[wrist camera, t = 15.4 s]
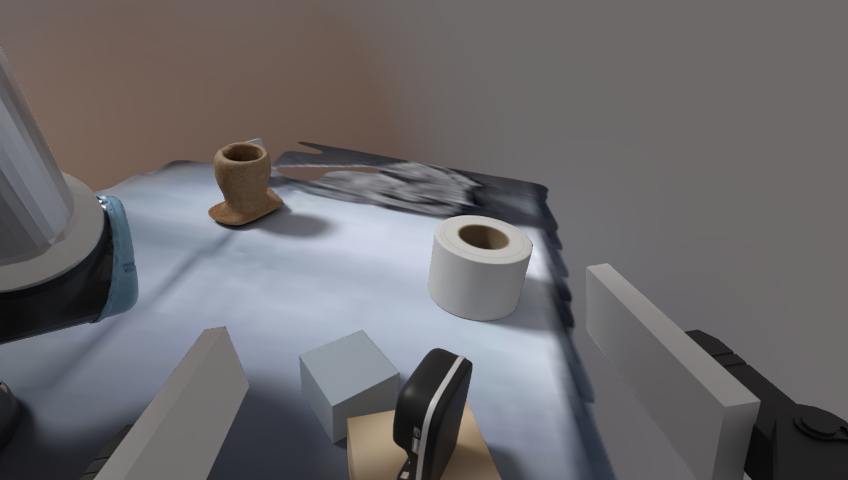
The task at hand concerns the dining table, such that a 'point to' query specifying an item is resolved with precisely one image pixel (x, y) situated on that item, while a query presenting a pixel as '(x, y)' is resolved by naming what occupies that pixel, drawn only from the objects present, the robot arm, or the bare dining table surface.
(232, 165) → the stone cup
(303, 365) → the slate-blue block
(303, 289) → the dining table surface
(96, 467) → the robot arm
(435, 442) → the battery charger
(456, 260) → the toilet paper roll
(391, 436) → the oak block
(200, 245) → the dining table surface
